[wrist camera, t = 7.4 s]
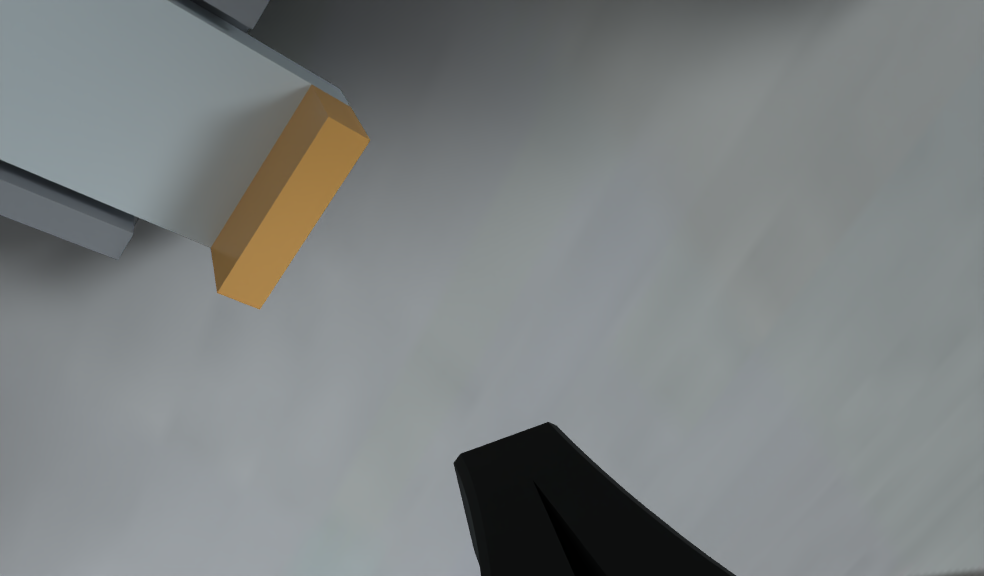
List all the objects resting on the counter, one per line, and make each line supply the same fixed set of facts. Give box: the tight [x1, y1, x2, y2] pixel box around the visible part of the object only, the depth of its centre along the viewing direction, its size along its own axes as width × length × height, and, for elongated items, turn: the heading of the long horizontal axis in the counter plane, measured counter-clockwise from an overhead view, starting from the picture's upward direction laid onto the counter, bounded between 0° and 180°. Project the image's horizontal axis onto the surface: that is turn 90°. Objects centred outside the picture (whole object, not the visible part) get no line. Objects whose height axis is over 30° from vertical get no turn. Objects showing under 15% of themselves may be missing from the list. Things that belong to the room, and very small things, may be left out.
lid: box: [0, 0, 370, 309], centre depth 12 cm, size 9×4×3 cm, turn 53°
